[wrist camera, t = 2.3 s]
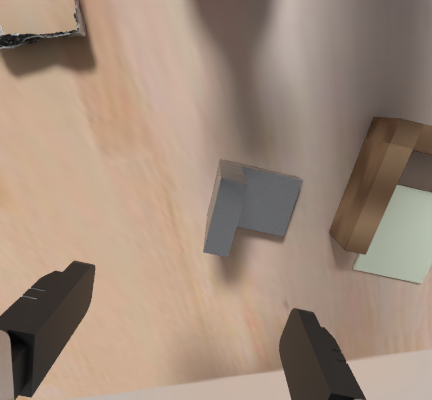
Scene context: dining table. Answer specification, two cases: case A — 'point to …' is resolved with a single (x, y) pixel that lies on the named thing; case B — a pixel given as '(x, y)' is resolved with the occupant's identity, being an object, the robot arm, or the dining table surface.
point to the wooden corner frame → (376, 179)
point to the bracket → (248, 204)
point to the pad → (402, 238)
